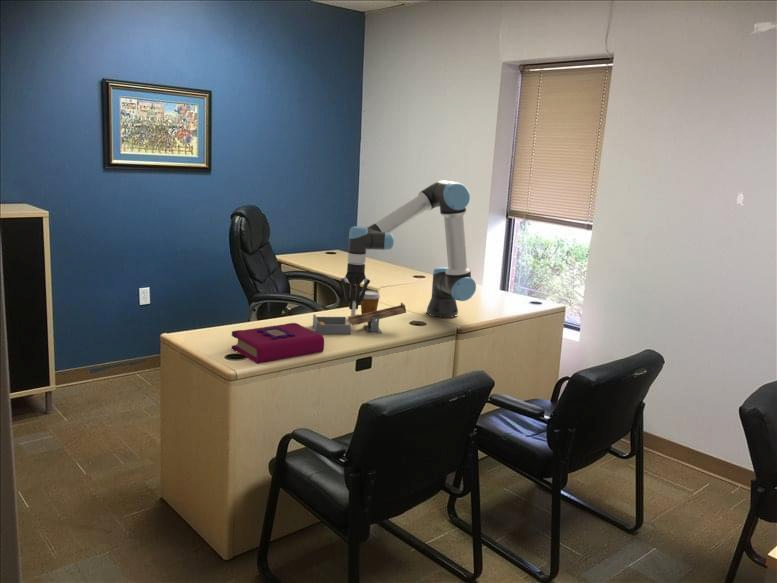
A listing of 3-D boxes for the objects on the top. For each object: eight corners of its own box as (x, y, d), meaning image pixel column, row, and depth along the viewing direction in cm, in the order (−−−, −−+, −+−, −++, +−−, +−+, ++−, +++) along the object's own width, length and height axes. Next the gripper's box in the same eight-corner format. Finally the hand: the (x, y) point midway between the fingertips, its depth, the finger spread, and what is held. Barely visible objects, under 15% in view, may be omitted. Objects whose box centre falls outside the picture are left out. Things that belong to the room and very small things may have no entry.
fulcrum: (376, 326, 284) (377, 311, 283) (382, 333, 274) (383, 318, 273) (363, 326, 283) (364, 311, 282) (368, 333, 273) (369, 318, 271)
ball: (315, 325, 274) (320, 329, 275) (316, 327, 271) (321, 331, 272) (320, 319, 274) (325, 324, 275) (321, 321, 271) (326, 326, 272)
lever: (400, 306, 288) (398, 299, 287) (406, 312, 277) (404, 305, 277) (347, 318, 284) (346, 311, 283) (352, 325, 273) (350, 317, 272)
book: (324, 353, 244) (324, 334, 242) (257, 365, 226) (258, 344, 224) (294, 339, 259) (294, 321, 258) (229, 349, 241) (230, 329, 240)
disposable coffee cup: (379, 316, 302) (381, 291, 300) (377, 321, 293) (379, 295, 290) (359, 314, 303) (361, 289, 300) (356, 319, 294) (358, 293, 291)
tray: (345, 325, 282) (345, 314, 281) (350, 334, 270) (350, 322, 268) (312, 325, 279) (313, 314, 278) (316, 334, 266) (316, 322, 265)
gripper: (369, 262, 281) (366, 314, 286) (340, 261, 278) (336, 314, 283) (373, 265, 274) (369, 319, 279) (342, 264, 271) (339, 318, 276)
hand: (353, 316), depth 281 cm, fingers closed
